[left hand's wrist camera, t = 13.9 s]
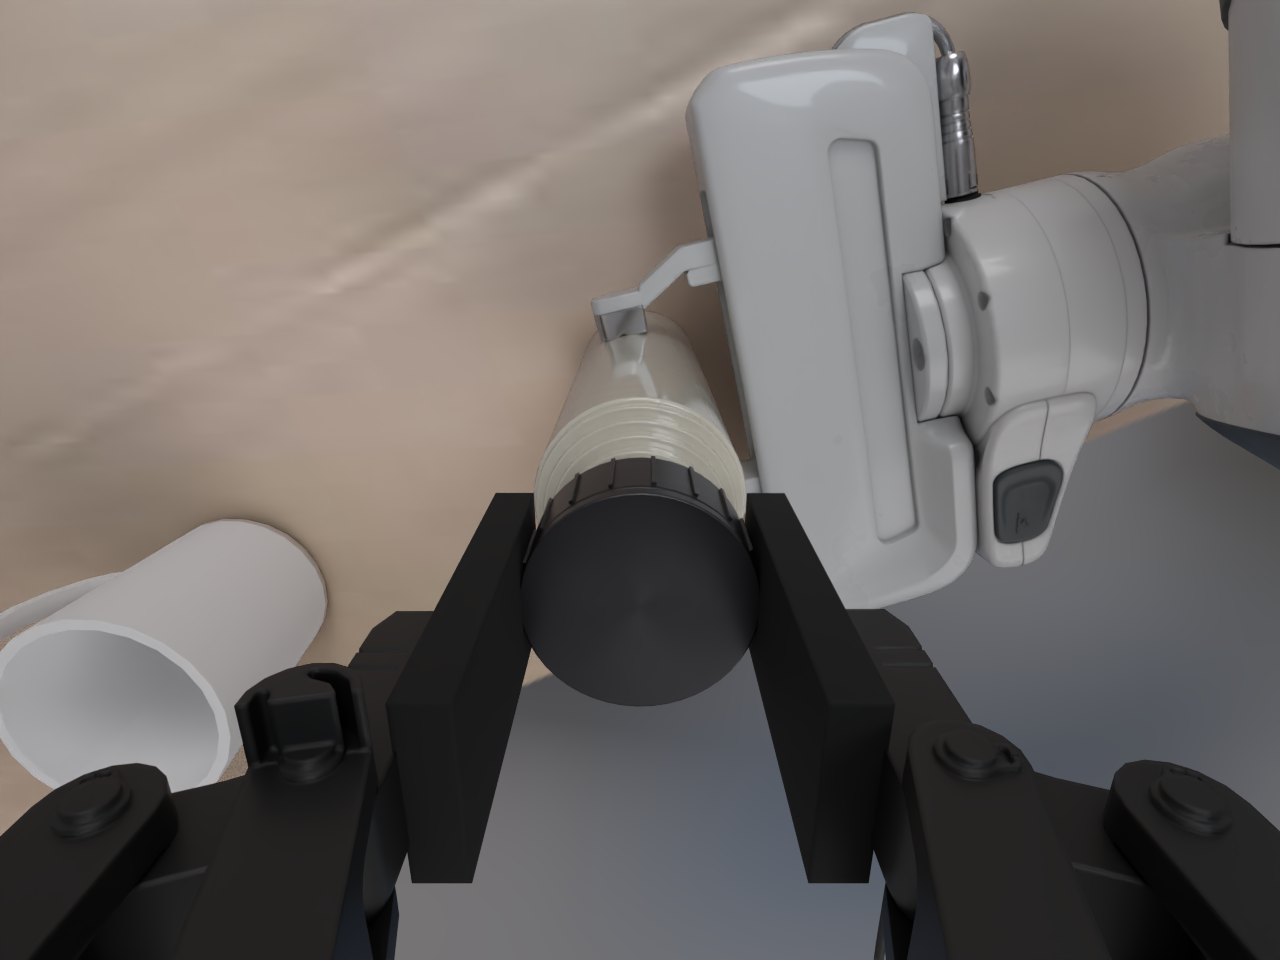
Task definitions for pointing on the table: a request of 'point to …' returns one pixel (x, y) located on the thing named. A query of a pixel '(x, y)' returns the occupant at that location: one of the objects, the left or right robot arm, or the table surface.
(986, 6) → the table surface
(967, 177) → the right robot arm
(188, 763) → the mug
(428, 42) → the table surface
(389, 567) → the table surface
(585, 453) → the bottle
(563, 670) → the cap
